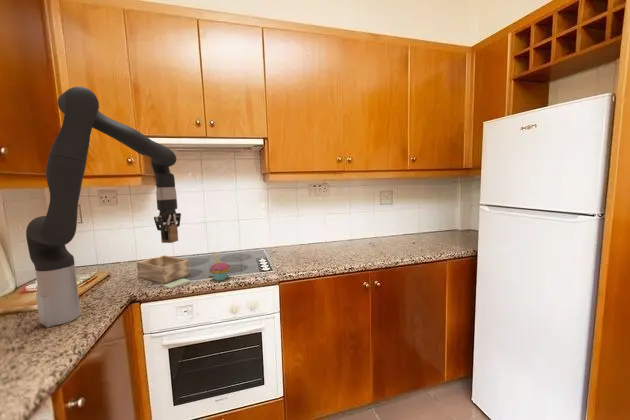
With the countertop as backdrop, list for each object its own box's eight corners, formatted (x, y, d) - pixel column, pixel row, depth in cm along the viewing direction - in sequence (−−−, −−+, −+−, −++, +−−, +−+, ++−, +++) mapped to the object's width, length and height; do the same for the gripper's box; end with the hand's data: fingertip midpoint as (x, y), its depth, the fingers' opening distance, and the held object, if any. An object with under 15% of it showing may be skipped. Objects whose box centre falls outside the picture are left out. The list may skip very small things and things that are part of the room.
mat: (170, 288, 117) (170, 287, 117) (163, 286, 120) (163, 285, 119) (190, 281, 125) (190, 280, 125) (183, 279, 127) (183, 278, 127)
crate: (162, 284, 122) (161, 268, 122) (138, 277, 132) (136, 262, 131) (190, 275, 133) (188, 260, 133) (165, 269, 143) (164, 255, 142)
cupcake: (209, 283, 122) (207, 255, 121) (210, 276, 130) (209, 250, 129) (230, 280, 124) (229, 253, 123) (230, 274, 132) (229, 248, 131)
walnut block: (161, 242, 121) (160, 226, 120) (169, 240, 126) (167, 224, 125) (171, 242, 120) (170, 226, 120) (178, 240, 125) (177, 224, 124)
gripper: (170, 197, 129) (173, 235, 130) (145, 199, 115) (149, 242, 116) (185, 197, 127) (188, 235, 129) (162, 199, 113) (165, 242, 115)
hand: (169, 238), depth 123 cm, fingers closed on walnut block, 4 cm apart
